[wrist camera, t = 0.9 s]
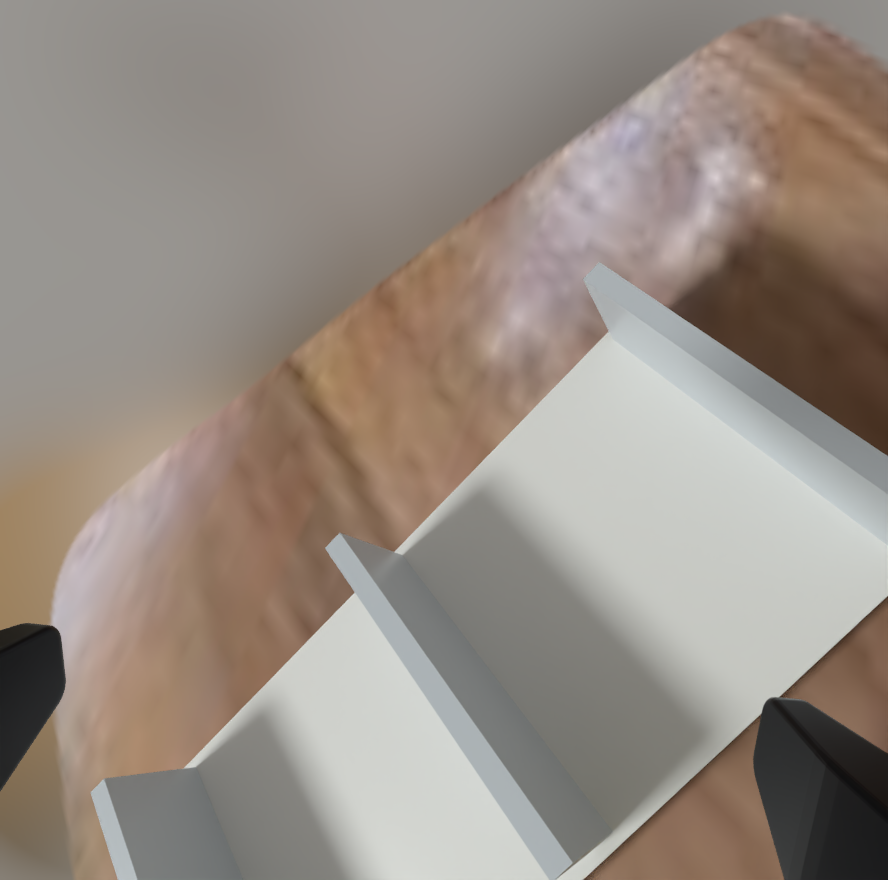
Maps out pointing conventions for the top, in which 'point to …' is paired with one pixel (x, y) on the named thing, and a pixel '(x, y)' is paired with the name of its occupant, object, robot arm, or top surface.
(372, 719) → the white divided tray
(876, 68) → the top surface
